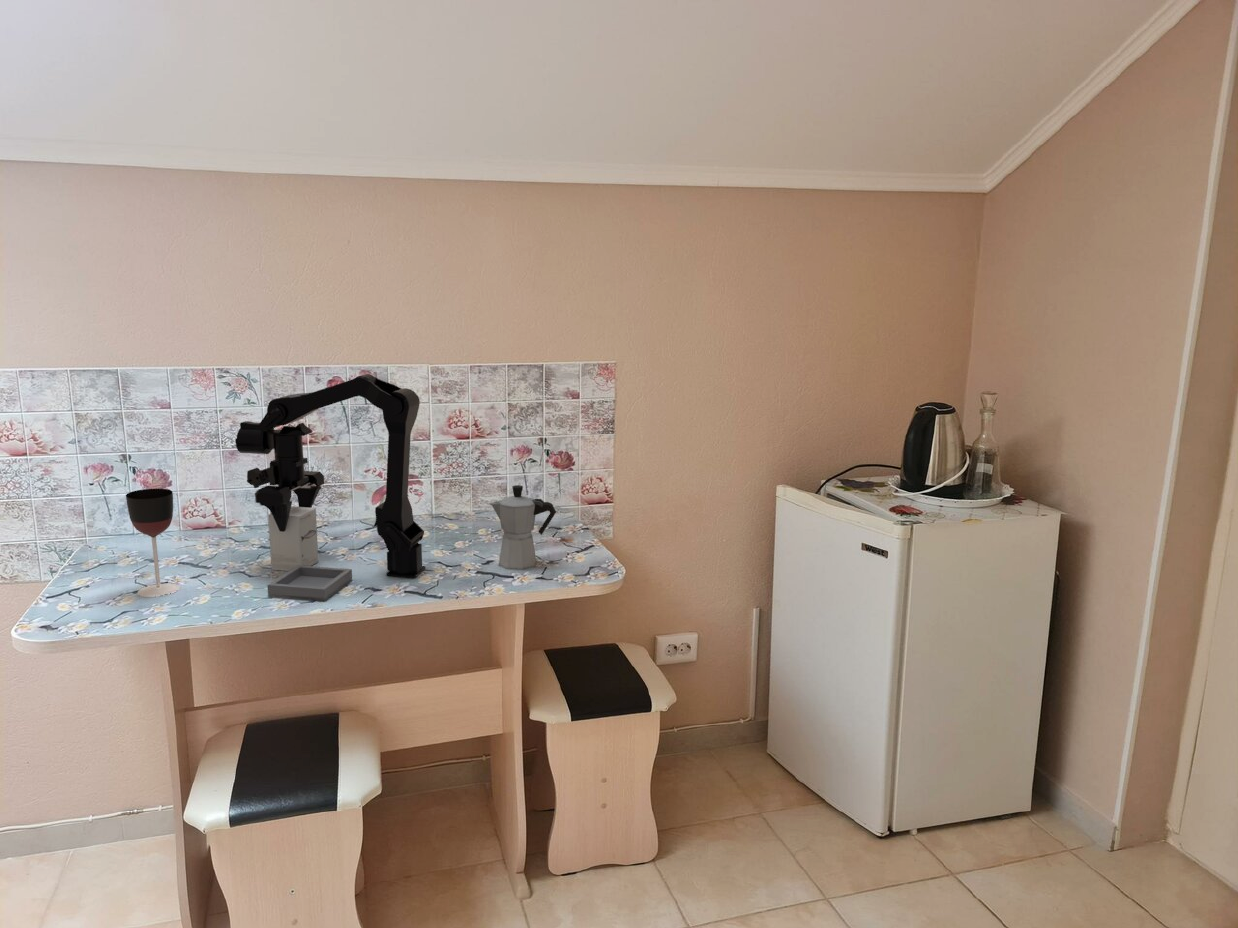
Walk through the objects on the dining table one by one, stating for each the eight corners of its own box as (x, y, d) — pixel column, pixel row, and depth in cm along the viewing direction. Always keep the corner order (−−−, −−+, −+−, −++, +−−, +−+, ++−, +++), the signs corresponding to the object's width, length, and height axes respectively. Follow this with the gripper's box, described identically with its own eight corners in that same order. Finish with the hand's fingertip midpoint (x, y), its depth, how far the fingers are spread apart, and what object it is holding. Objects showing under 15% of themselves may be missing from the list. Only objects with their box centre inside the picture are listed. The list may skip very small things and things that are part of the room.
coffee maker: (485, 569, 190) (485, 489, 186) (492, 556, 199) (492, 480, 195) (553, 571, 190) (554, 492, 186) (557, 558, 198) (558, 482, 194)
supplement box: (301, 573, 185) (298, 516, 182) (270, 570, 186) (266, 513, 184) (319, 562, 192) (316, 507, 189) (289, 559, 193) (286, 504, 191)
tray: (352, 580, 181) (351, 569, 181) (325, 601, 169) (324, 589, 169) (298, 576, 183) (298, 565, 182) (268, 596, 171) (267, 584, 171)
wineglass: (169, 579, 179) (160, 486, 175) (188, 590, 174) (180, 493, 169) (128, 589, 173) (118, 493, 169) (147, 600, 168) (137, 501, 163)
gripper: (276, 444, 194) (281, 511, 197) (228, 462, 176) (234, 535, 179) (323, 447, 192) (327, 514, 196) (279, 464, 174) (284, 538, 178)
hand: (293, 525), depth 187 cm, fingers open, 9 cm apart
